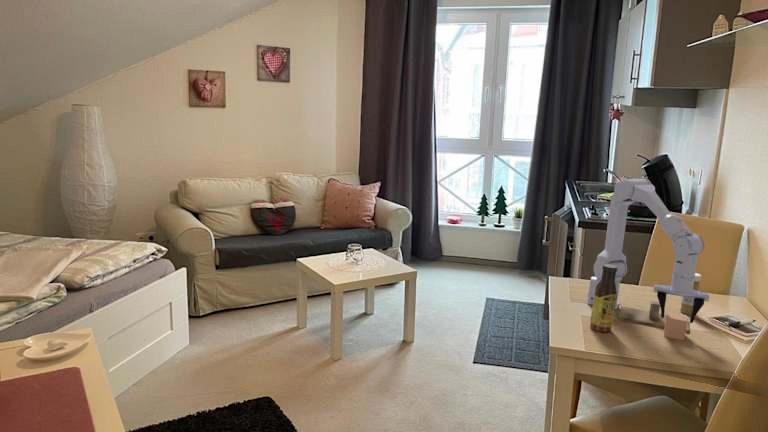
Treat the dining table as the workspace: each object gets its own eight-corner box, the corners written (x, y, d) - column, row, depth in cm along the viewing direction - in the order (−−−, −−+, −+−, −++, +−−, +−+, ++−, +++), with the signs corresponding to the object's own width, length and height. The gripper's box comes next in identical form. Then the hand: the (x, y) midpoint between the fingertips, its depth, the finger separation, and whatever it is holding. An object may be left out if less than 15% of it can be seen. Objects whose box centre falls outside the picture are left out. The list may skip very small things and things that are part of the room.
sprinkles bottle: (697, 313, 195) (704, 274, 193) (690, 316, 193) (696, 276, 190) (684, 309, 199) (690, 270, 196) (676, 311, 197) (683, 272, 194)
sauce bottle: (601, 334, 174) (609, 270, 170) (585, 326, 180) (593, 263, 176) (616, 331, 177) (625, 267, 173) (600, 323, 183) (608, 261, 179)
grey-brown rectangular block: (618, 319, 187) (620, 301, 186) (620, 308, 197) (623, 291, 196) (688, 332, 179) (691, 314, 178) (687, 320, 189) (690, 303, 187)
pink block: (663, 336, 175) (666, 317, 174) (664, 330, 180) (667, 311, 179) (684, 340, 173) (687, 321, 172) (683, 334, 178) (686, 315, 176)
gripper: (656, 274, 172) (649, 318, 175) (712, 283, 166) (704, 328, 169) (656, 268, 178) (650, 311, 181) (711, 276, 172) (703, 320, 175)
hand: (676, 319), depth 175 cm, fingers open, 7 cm apart
